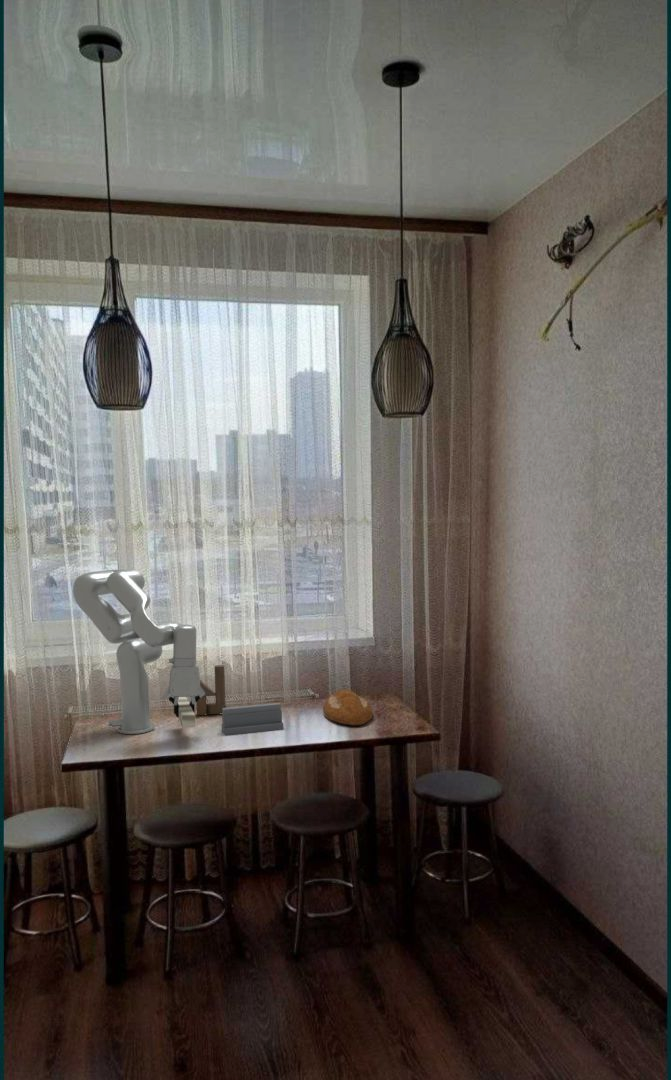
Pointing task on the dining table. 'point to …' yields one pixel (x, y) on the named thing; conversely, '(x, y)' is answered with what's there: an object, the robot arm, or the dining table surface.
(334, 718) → the bread
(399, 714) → the dining table surface
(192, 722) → the birch bar
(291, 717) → the dining table surface
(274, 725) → the ridge block
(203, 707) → the wooden block
